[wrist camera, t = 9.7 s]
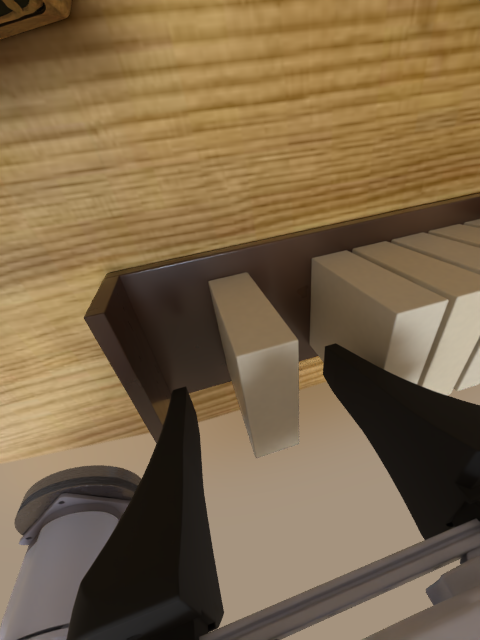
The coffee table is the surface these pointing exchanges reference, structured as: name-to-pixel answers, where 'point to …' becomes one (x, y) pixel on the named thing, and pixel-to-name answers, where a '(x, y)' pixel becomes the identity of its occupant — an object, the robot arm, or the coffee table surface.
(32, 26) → the decorative box
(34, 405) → the coffee table surface
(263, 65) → the coffee table surface
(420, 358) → the cream books
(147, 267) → the book rack
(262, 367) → the cream book
